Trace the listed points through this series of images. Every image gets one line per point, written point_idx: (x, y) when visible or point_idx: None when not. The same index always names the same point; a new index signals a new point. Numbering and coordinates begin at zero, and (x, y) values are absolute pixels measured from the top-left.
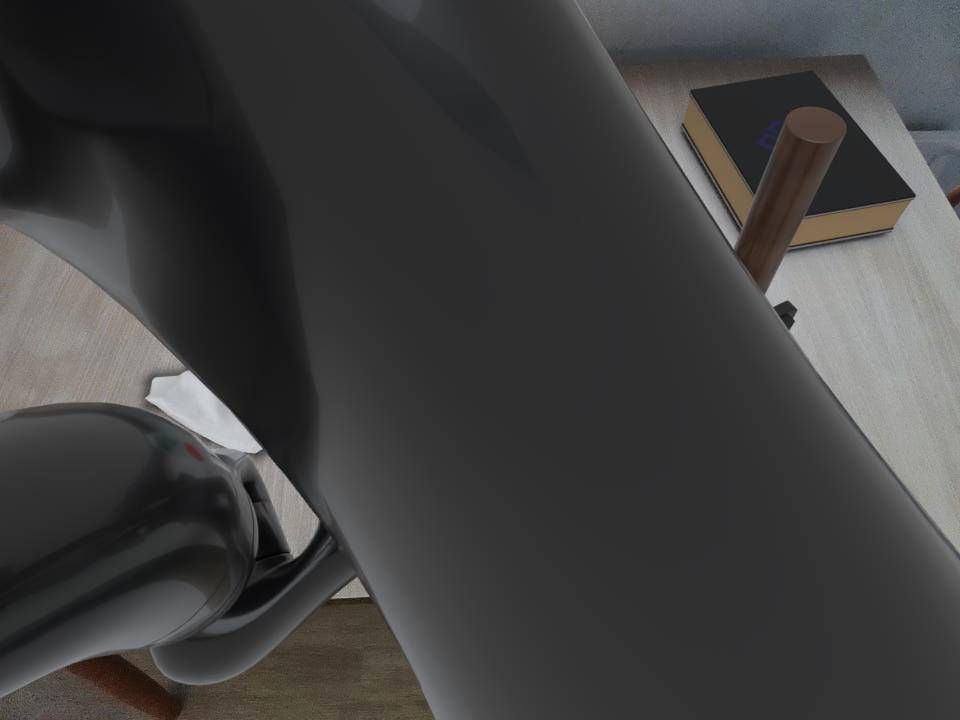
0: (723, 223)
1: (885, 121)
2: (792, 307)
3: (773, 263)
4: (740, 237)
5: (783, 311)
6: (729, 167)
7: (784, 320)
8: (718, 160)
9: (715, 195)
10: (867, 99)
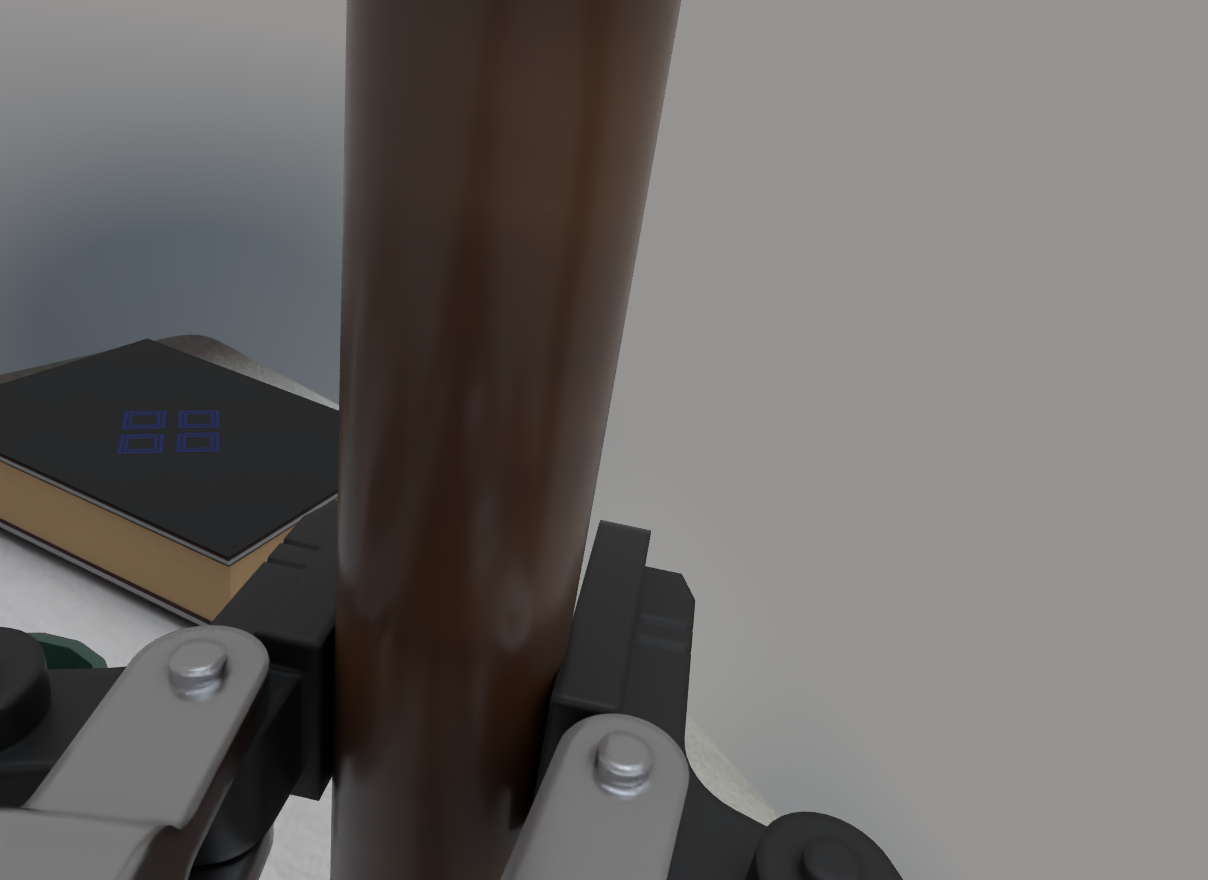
0: (127, 618)
1: (295, 389)
2: (639, 531)
3: (639, 211)
4: (384, 90)
5: (635, 556)
6: (80, 511)
7: (654, 591)
8: (49, 511)
9: (79, 579)
10: (252, 372)
